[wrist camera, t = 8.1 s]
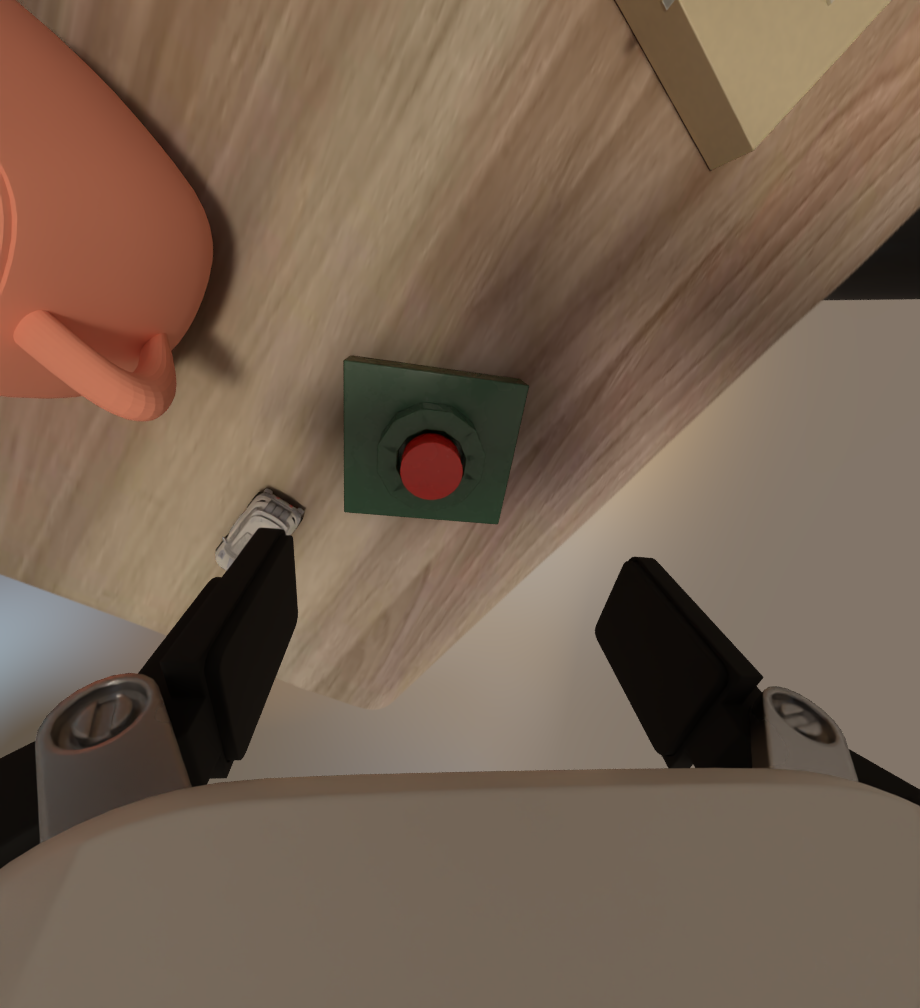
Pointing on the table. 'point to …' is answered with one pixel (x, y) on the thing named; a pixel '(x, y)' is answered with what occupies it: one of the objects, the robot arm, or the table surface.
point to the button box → (419, 410)
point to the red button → (431, 466)
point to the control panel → (742, 60)
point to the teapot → (88, 235)
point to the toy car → (257, 524)
